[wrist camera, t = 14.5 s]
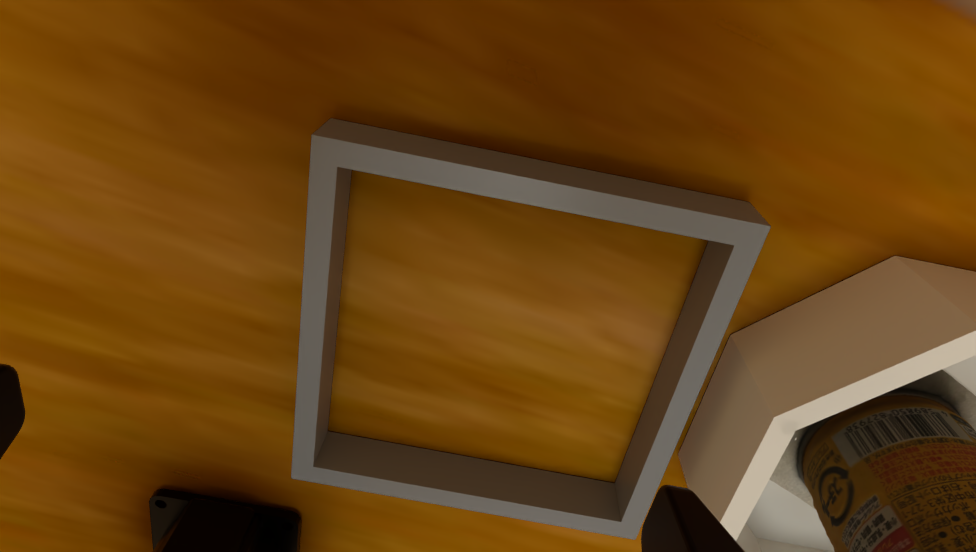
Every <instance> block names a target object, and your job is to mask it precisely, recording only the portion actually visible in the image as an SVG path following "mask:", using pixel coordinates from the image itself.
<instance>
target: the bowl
mask: <svg viewBox="0 0 976 552" xmlns="http://www.w3.org/2000/svg"><path fill="white" fill-rule="evenodd" d="M939 370H944V371H945V372H946V373H948V374H949V375H950V376H952V377H953V378H954V379H955V380H956V381H958V382H959V383H960V384H961V385H963V386H964V387H965V388H966V389H967V390H969V391H970V392H971V393H973V394H974V395H975V396H976V272H975V271H970V270H965V269H960V268H955V267H950V266H945V265H939V264H934V263H929V262H924V261H919V260H914V259H909V258H904V257H899V256H893V257H891V258H889V259H887V260H885V261H883V262H881V263H879V264H877V265H875V266H872V267H870V268H868V269H866V270H864V271H862V272H860V273H858V274H856V275H854V276H852V277H850V278H848V279H845V280H843V281H841V282H839V283H837V284H835V285H833V286H831V287H829V288H827V289H825V290H823V291H821V292H818V293H816V294H814V295H812V296H810V297H808V298H806V299H804V300H802V301H800V302H798V303H796V304H794V305H792V306H789V307H787V308H785V309H783V310H781V311H779V312H777V313H775V314H773V315H771V316H769V317H767V318H765V319H762V320H760V321H758V322H756V323H754V324H752V325H750V326H748V327H746V328H744V329H742V330H740V331H738V332H735V333H733V334H731V335H730V337H729V339H728V342H727V344H726V346H725V348H724V351H723V353H722V355H721V358H720V360H719V362H718V364H717V367H716V369H715V371H714V374H713V376H712V378H711V380H710V383H709V385H708V387H707V390H706V392H705V394H704V396H703V399H702V401H701V403H700V405H699V408H698V410H697V412H696V415H695V417H694V419H693V421H692V424H691V426H690V428H689V431H688V433H687V435H686V437H685V440H684V442H683V444H682V447H681V449H680V451H679V453H678V456H679V460H680V463H681V466H682V470H683V473H684V476H685V480H686V483H687V486H688V489H690V490H692V491H693V492H694V493H695V494H696V495H697V496H698V497H699V499H700V500H701V501H702V502H703V503H704V504H705V506H706V507H707V508H708V509H709V510H710V511H711V513H712V514H713V515H714V516H715V517H716V518H717V520H718V521H719V522H720V523H721V524H722V525H723V527H724V528H725V529H726V530H727V531H728V532H729V534H730V535H731V536H732V537H733V538H734V539H735V541H736V542H737V543H738V544H739V545H740V546H741V548H742V549H743V550H744V551H745V552H835V551H834V548H833V545H832V544H831V542H830V540H829V538H828V536H827V535H826V531H825V529H824V527H823V525H822V523H821V521H820V519H819V516H818V513H817V510H816V509H814V508H813V507H811V506H810V505H808V504H807V503H805V502H804V501H803V500H801V499H800V498H798V497H797V496H795V495H794V494H792V493H790V492H789V491H787V490H785V489H784V488H782V487H780V486H779V485H778V484H776V483H775V482H773V481H771V480H769V479H770V477H771V475H772V473H773V472H774V470H775V468H776V466H777V464H778V462H779V461H780V459H781V457H782V455H783V453H784V451H785V449H786V448H787V446H788V444H789V442H790V440H791V438H792V437H793V435H794V433H795V431H796V430H799V429H801V428H803V427H806V426H808V425H811V424H813V423H815V422H818V421H820V420H822V419H825V418H827V417H830V416H832V415H834V414H837V413H839V412H841V411H844V410H846V409H849V408H851V407H853V406H856V405H858V404H861V403H863V402H865V401H868V400H870V399H872V398H875V397H877V396H880V395H882V394H884V393H887V392H889V391H892V390H894V389H896V388H899V387H901V386H903V385H906V384H908V383H911V382H913V381H915V380H918V379H920V378H922V377H925V376H927V375H930V374H932V373H934V372H937V371H939ZM795 440H796V438H795Z"/></svg>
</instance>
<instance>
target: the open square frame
mask: <svg viewBox="0 0 976 552" xmlns="http://www.w3.org/2000/svg"><path fill="white" fill-rule="evenodd" d="M352 170H356V171H361V172H366V173H371V174H376V175H381V176H387V177H392V178H397V179H402V180H407V181H412V182H417V183H422V184H427V185H432V186H437V187H442V188H447V189H452V190H457V191H462V192H467V193H472V194H477V195H482V196H487V197H493V198H498V199H503V200H508V201H513V202H518V203H523V204H528V205H533V206H538V207H543V208H548V209H553V210H558V211H563V212H568V213H573V214H578V215H583V216H588V217H593V218H599V219H604V220H609V221H614V222H619V223H624V224H629V225H634V226H639V227H644V228H649V229H654V230H659V231H664V232H669V233H674V234H679V235H684V236H689V237H694V238H699V239H705V240H709V241H708V244H707V247H706V249H705V252H704V254H703V257H702V259H701V262H700V265H699V267H698V270H697V272H696V275H695V277H694V280H693V283H692V285H691V288H690V290H689V293H688V296H687V298H686V301H685V303H684V306H683V308H682V311H681V314H680V316H679V319H678V321H677V324H676V327H675V329H674V332H673V334H672V337H671V339H670V342H669V345H668V347H667V350H666V352H665V355H664V358H663V360H662V363H661V365H660V368H659V370H658V373H657V376H656V378H655V381H654V383H653V386H652V389H651V391H650V394H649V396H648V399H647V401H646V404H645V407H644V409H643V412H642V414H641V417H640V419H639V422H638V425H637V427H636V430H635V432H634V435H633V438H632V440H631V443H630V445H629V448H628V450H627V453H626V456H625V458H624V461H623V463H622V466H621V469H620V471H619V474H618V476H617V479H616V481H615V483H610V482H605V481H599V480H594V479H588V478H583V477H577V476H572V475H566V474H561V473H555V472H550V471H544V470H539V469H533V468H528V467H522V466H517V465H511V464H506V463H500V462H494V461H489V460H483V459H478V458H472V457H467V456H461V455H456V454H450V453H445V452H439V451H434V450H428V449H423V448H417V447H412V446H406V445H401V444H395V443H390V442H384V441H379V440H373V439H368V438H362V437H357V436H351V435H346V434H340V433H335V432H329V431H328V423H329V412H330V401H331V390H332V380H333V369H334V358H335V347H336V336H337V325H338V314H339V303H340V293H341V282H342V271H343V260H344V249H345V238H346V227H347V216H348V206H349V195H350V184H351V173H352ZM770 227H771V226H770V225H769V224H768V223H767V221H766V220H765V219H764V218H763V217H762V216H761V215H760V214H759V212H758V211H757V210H756V209H755V208H754V207H753V206H752V204H751V203H750V202H746V201H741V200H736V199H731V198H726V197H721V196H716V195H711V194H706V193H701V192H696V191H691V190H686V189H681V188H676V187H671V186H666V185H661V184H656V183H651V182H646V181H641V180H636V179H631V178H626V177H621V176H616V175H611V174H606V173H602V172H597V171H592V170H587V169H582V168H577V167H572V166H567V165H562V164H557V163H552V162H547V161H542V160H537V159H532V158H527V157H522V156H517V155H512V154H507V153H502V152H497V151H492V150H487V149H482V148H477V147H472V146H467V145H462V144H457V143H452V142H447V141H442V140H437V139H432V138H427V137H422V136H417V135H413V134H408V133H403V132H398V131H393V130H388V129H383V128H378V127H373V126H368V125H363V124H358V123H353V122H348V121H343V120H338V119H333V118H330V119H329V120H328V121H327V122H326V123H325V124H323V125H322V126H321V127H320V128H319V129H318V130H316V131H315V132H314V133H313V134H312V137H311V154H310V171H309V188H308V205H307V221H306V238H305V255H304V272H303V289H302V305H301V322H300V339H299V356H298V373H297V389H296V406H295V423H294V440H293V456H292V473H291V478H292V479H297V480H303V481H309V482H314V483H320V484H326V485H331V486H337V487H342V488H348V489H354V490H359V491H365V492H370V493H376V494H382V495H387V496H393V497H398V498H404V499H410V500H415V501H421V502H426V503H432V504H438V505H443V506H449V507H455V508H460V509H466V510H471V511H477V512H483V513H488V514H494V515H499V516H505V517H511V518H516V519H522V520H527V521H533V522H539V523H544V524H550V525H555V526H561V527H567V528H572V529H578V530H583V531H589V532H595V533H600V534H606V535H612V536H617V537H623V538H628V539H634V540H635V539H636V537H637V535H638V532H639V530H640V528H641V525H642V523H643V521H644V518H645V516H646V514H647V511H648V509H649V507H650V505H651V502H652V500H653V498H654V495H655V493H656V491H657V488H658V486H659V484H660V481H661V479H662V477H663V475H664V472H665V470H666V468H667V465H668V463H669V461H670V458H671V456H672V454H673V451H674V449H675V447H676V444H677V442H678V440H679V438H680V435H681V433H682V431H683V428H684V426H685V424H686V421H687V419H688V417H689V414H690V412H691V410H692V407H693V405H694V403H695V401H696V398H697V396H698V394H699V391H700V389H701V387H702V384H703V382H704V380H705V377H706V375H707V373H708V371H709V368H710V366H711V364H712V361H713V359H714V357H715V354H716V352H717V350H718V347H719V345H720V343H721V340H722V338H723V336H724V334H725V331H726V329H727V327H728V324H729V322H730V320H731V317H732V315H733V313H734V310H735V308H736V306H737V304H738V301H739V299H740V297H741V294H742V292H743V290H744V287H745V285H746V283H747V280H748V278H749V276H750V273H751V271H752V269H753V267H754V264H755V262H756V260H757V257H758V255H759V253H760V250H761V248H762V246H763V243H764V241H765V239H766V237H767V234H768V232H769V230H770Z"/></svg>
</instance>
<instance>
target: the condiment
mask: <svg viewBox="0 0 976 552" xmlns="http://www.w3.org/2000/svg"><path fill="white" fill-rule="evenodd" d="M795 438H796V440H795ZM769 480H771V481H773V482H775V483H776V484H778V485H779V486H780V487H782V488H784V489H785V490H787V491H789V492H790V493H792V494H794V495H795V496H797V497H798V498H800V499H801V500H803V501H804V502H805V503H807V504H808V505H810V506H811V507H813V508H814V509H816V510H817V513H818V516H819V519H820V521H821V523H822V525H823V527H824V529H825V531H826V535H827V536H828V538H829V540H830V542H831V544H832V545H833V548H834V551H835V552H976V396H975V395H974V394H973V393H971V392H970V391H969V390H967V389H966V388H965V387H964V386H963V385H961V384H960V383H959V382H958V381H956V380H955V379H954V378H953V377H952V376H950V375H949V374H948V373H946V372H945V371H944V370H939V371H937V372H934V373H932V374H930V375H927V376H925V377H922V378H920V379H918V380H915V381H913V382H911V383H908V384H906V385H903V386H901V387H899V388H896V389H894V390H892V391H889V392H887V393H884V394H882V395H880V396H877V397H875V398H872V399H870V400H868V401H865V402H863V403H861V404H858V405H856V406H853V407H851V408H849V409H846V410H844V411H841V412H839V413H837V414H834V415H832V416H830V417H827V418H825V419H822V420H820V421H818V422H815V423H813V424H811V425H808V426H806V427H803V428H801V429H799V430H796V431H795V433H794V435H793V437H792V438H791V440H790V442H789V444H788V446H787V448H786V449H785V451H784V453H783V455H782V457H781V459H780V461H779V462H778V464H777V466H776V468H775V470H774V472H773V473H772V475H771V477H770V479H769Z"/></svg>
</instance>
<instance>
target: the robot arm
mask: <svg viewBox="0 0 976 552" xmlns="http://www.w3.org/2000/svg"><path fill="white" fill-rule="evenodd" d="M24 419H25V408H24V403H23V398H22V393H21V388H20V382H19V377H18V374H17V371H16V370H15V369H14V368H13V367H11V366H10V365H6V364H0V459H1V457H2V456H3V454H4V453H5V451H6V450H7V449H8V447H9V446H10V444H11V443H12V441H13V440H14V438H15V437H16V435H17V434H18V433H19V431H20V429H21V427H22V425H23V422H24ZM149 505H150V517H151V529H152V540H153V552H299V547H300V534H301V517H300V516H299V515H298V514H296V513H295V512H292V511H287V510H281V509H276V508H270V507H264V506H259V505H253V504H247V503H242V502H236V501H230V500H225V499H219V498H213V497H208V496H202V495H196V494H191V493H185V492H179V491H174V490H168V489H158V490H156V491H155V492H154V494H153V495H152V497H151V498H150V501H149ZM641 544H642V552H745V551H744V550H743V549H742V548H741V546H740V545H739V544H738V543H737V542H736V541H735V539H734V538H733V537H732V536H731V535H730V534H729V532H728V531H727V530H726V529H725V528H724V527H723V525H722V524H721V523H720V522H719V521H718V520H717V518H716V517H715V516H714V515H713V514H712V513H711V511H710V510H709V509H708V508H707V507H706V506H705V504H704V503H703V502H702V501H701V500H700V499H699V497H698V496H697V495H696V494H695V493H694V492H693V491H692V490H690V489H687V488H682V487H676V486H671V485H663V486H662V487H661V488H660V489H659V490H658V492H657V494H656V496H655V499H654V501H653V503H652V506H651V508H650V510H649V513H648V515H647V517H646V520H645V522H644V525H643V529H642V537H641Z"/></svg>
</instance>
